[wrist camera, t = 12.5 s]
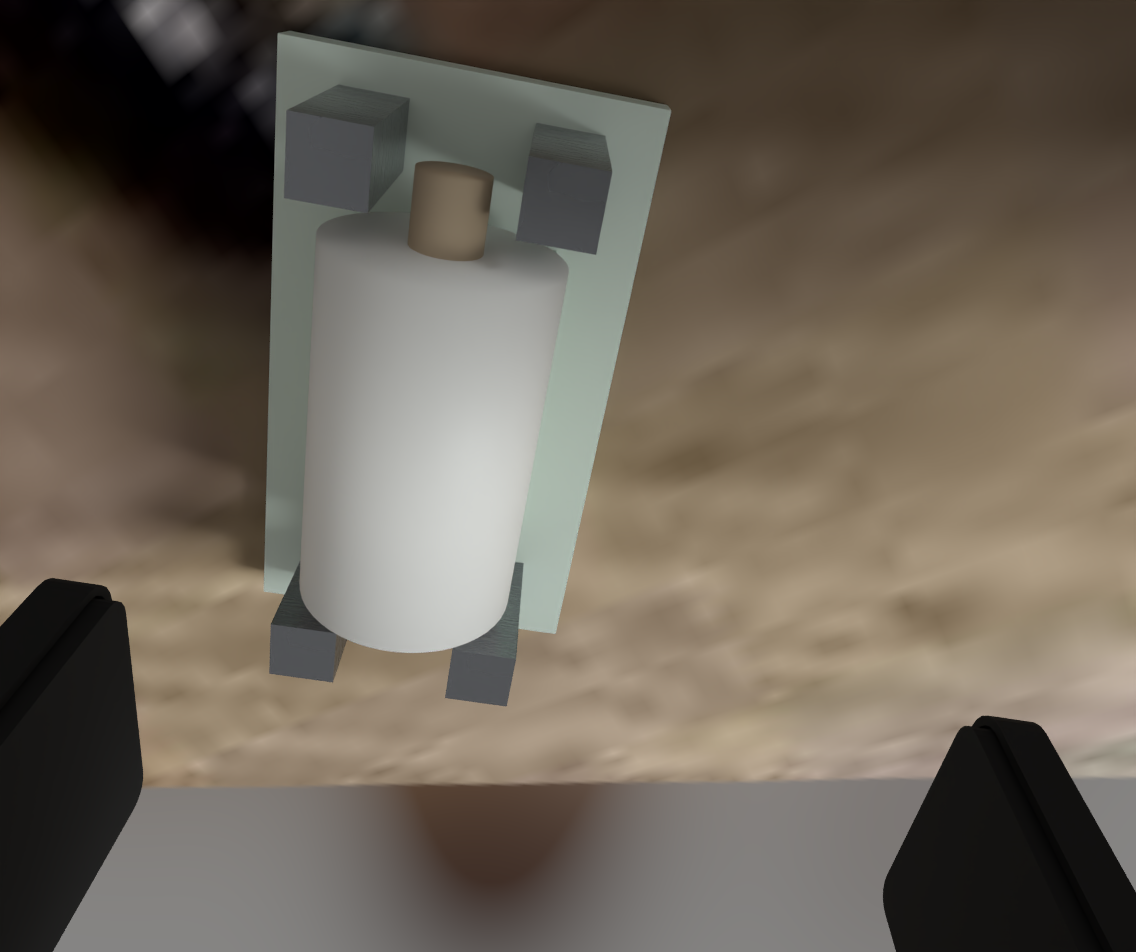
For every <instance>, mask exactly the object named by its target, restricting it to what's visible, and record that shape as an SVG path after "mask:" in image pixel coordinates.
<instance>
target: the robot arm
mask: <svg viewBox="0 0 1136 952" xmlns="http://www.w3.org/2000/svg"><path fill="white" fill-rule="evenodd" d="M142 782H143V767H142V757H141V748H140V739H139V729H138V720H137V711H136V702H135V692H134V683H133V674H132V665H131V655H130V646H129V637H128V628H127V618H126V611H125V607H124V605H123V604H122V603H121V602H118V601H112V598H111V594H110V592H109V590H108V589H107V587H105V586H102V585H96V584H89V583H82V582H75V581H68V580H62V579H55V578H50V579H47V580H45V581H43V582H42V583H41V584H40V585H38V586H37V588H36V589H35V590H34V591H33V592H32V593H31V594H30V595H29V596H28V597H27V598H26V599H25V600H24V602H23V603H22V604H21V605H20V606H19V607H18V608H17V609H16V610H15V611H14V612H13V613H12V615H11V616H10V617H9V618H8V619H7V620H6V621H5V622H4V623H3V624H2V625H1V626H0V952H53V950H54V948H55V947H56V945H57V943H58V941H59V940H60V938H61V936H62V934H63V933H64V931H65V929H66V927H67V925H68V924H69V922H70V920H71V918H72V917H73V915H74V913H75V911H76V910H77V908H78V906H79V904H80V903H81V901H82V899H83V897H84V896H85V894H86V892H87V890H88V889H89V887H90V885H91V883H92V882H93V880H94V878H95V876H96V875H97V873H98V871H99V869H100V867H101V866H102V864H103V862H104V860H105V859H106V857H107V855H108V853H109V852H110V850H111V848H112V846H113V845H114V843H115V841H116V839H117V837H118V836H119V834H120V832H121V831H122V829H123V827H124V825H125V824H126V822H127V820H128V818H129V816H130V815H131V813H132V811H133V809H134V807H135V805H136V803H137V801H138V798H139V795H140V792H141V788H142ZM883 903H884V910H885V915H886V918H887V922H888V925H889V928H890V932H891V935H892V939H893V943H894V946H895V949H896V952H1136V892H1135V890H1134V888H1133V886H1132V885H1131V883H1130V881H1129V879H1128V878H1127V876H1126V874H1125V872H1124V870H1123V869H1122V867H1121V865H1120V863H1119V862H1118V860H1117V858H1116V856H1115V855H1114V853H1113V851H1112V849H1111V847H1110V846H1109V844H1108V842H1107V840H1106V839H1105V837H1104V835H1103V833H1102V832H1101V830H1100V828H1099V826H1098V825H1097V823H1096V821H1095V819H1094V817H1093V816H1092V814H1091V812H1090V810H1089V808H1088V807H1087V805H1086V803H1085V802H1084V800H1083V798H1082V796H1081V794H1080V793H1079V791H1078V789H1077V787H1076V785H1075V784H1074V782H1073V780H1072V778H1071V777H1070V775H1069V773H1068V771H1067V769H1066V768H1065V766H1064V764H1063V762H1062V761H1061V759H1060V757H1059V755H1058V753H1057V752H1056V750H1055V748H1054V746H1053V745H1052V743H1051V741H1050V739H1049V737H1048V736H1047V734H1046V733H1045V731H1044V730H1043V729H1042V727H1041V726H1039V725H1038V724H1036V723H1034V722H1027V721H1020V720H1014V719H1007V718H1000V717H993V716H981V717H980V718H978V719H977V720H976V721H975V723H974V724H973V725H972V727H971V726H964V727H962V728H961V729H960V730H959V732H958V733H957V735H956V737H955V739H954V741H953V743H952V745H951V747H950V749H949V751H948V753H947V755H946V757H945V759H944V761H943V763H942V765H941V767H940V769H939V771H938V773H937V775H936V777H935V779H934V781H933V783H932V785H931V787H930V789H929V791H928V793H927V795H926V797H925V799H924V801H923V803H922V805H921V807H920V810H919V811H918V814H917V816H916V818H915V820H914V822H913V824H912V826H911V828H910V830H909V832H908V834H907V836H906V838H905V840H904V842H903V844H902V846H901V848H900V850H899V852H898V854H897V856H896V858H895V860H894V862H893V864H892V866H891V868H890V870H889V872H888V874H887V877H886V879H885V883H884V889H883Z"/></svg>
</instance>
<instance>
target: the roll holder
mask: <svg viewBox="0 0 1136 952" xmlns="http://www.w3.org/2000/svg"><path fill="white" fill-rule="evenodd" d="M670 115H671V109H670V108H669V106H668V105H665V104H660V103H655V102H649V101H644V100H639V99H634V98H629V97H624V96H619V95H614V94H609V93H604V92H599V91H594V90H589V89H583V88H578V87H573V86H568V85H563V84H558V83H553V82H548V81H543V80H538V79H533V78H528V77H523V76H517V75H512V74H507V73H502V72H497V71H492V70H487V69H482V68H477V67H472V66H467V65H462V64H457V63H451V62H446V61H441V60H436V59H431V58H426V57H421V56H416V55H411V54H406V53H401V52H396V51H391V50H385V49H380V48H375V47H370V46H365V45H360V44H355V43H350V42H345V41H340V40H335V39H330V38H325V37H319V36H314V35H309V34H304V33H299V32H294V31H286V32H281V33H278V42H277V82H276V122H275V162H274V202H273V242H272V282H271V322H270V362H269V402H268V442H267V482H266V522H265V562H264V591H265V592H272V593H278V594H285V595H284V597H283V599H282V601H281V603H280V605H279V608H278V610H277V612H276V614H275V616H274V619H273V621H272V623H271V638H270V671H269V674H276V675H284V676H291V677H298V678H305V679H313V680H320V681H327V682H333V680H334V677H335V674H336V671H337V668H338V665H339V662H340V659H341V656H342V653H343V650H344V647H345V644H346V641H347V639H345V638H343V637H341V636H339V635H337V634H335V633H334V632H332V631H330V630H329V629H327V628H326V627H325V626H323V625H322V624H321V623H320V622H318V621H317V620H316V619H315V618H314V617H313V616H312V614H311V613H310V612H309V610H308V609H307V608H306V606H305V604H304V602H303V600H302V597H301V593H300V584H299V580H300V559H301V538H302V517H303V496H304V475H305V455H306V434H307V413H308V392H309V371H310V350H311V330H312V309H313V288H314V267H315V246H316V232H317V229H318V228H319V227H320V226H321V224H323V223H325V222H326V221H328V220H331V219H333V218H336V217H340V216H344V215H349V214H355V213H368V212H409V213H410V212H411V202H412V192H413V181H414V171H415V164H416V163H418V162H422V161H442V162H450V163H457V164H462V165H467V166H471V167H474V168H478V169H481V170H483V171H486V172H488V173H490V174H491V175H493V176H494V183H493V190H492V197H491V204H490V212H489V219H488V225H490V226H494V227H497V228H501V229H504V230H507V231H510V232H513V233H516V234H517V235H516V240H517V241H522V242H528V243H533V244H539V245H544V246H546V247H548V248H550V249H551V250H553V251H554V252H556V253H557V254H558V255H559V256H560V257H562V258H563V259H564V261H565V262H566V263H567V265H568V268H569V274H568V280H567V285H566V290H565V296H564V301H563V307H562V312H561V317H560V323H559V328H558V333H557V339H556V344H555V350H554V355H553V360H552V366H551V371H550V377H549V382H548V387H547V393H546V398H545V404H544V409H543V414H542V420H541V425H540V431H539V436H538V441H537V447H536V452H535V457H534V463H533V468H532V474H531V479H530V484H529V490H528V495H527V501H526V506H525V511H524V517H523V522H522V528H521V533H520V538H519V544H518V549H517V555H516V560H515V565H514V571H513V576H512V581H511V587H510V592H509V598H508V603H507V606H506V609H505V612H504V613H503V615H502V617H501V619H500V620H499V621H498V622H497V624H496V625H495V626H494V627H492V628H491V629H490V630H489V631H488V632H487V633H485V634H483V635H482V636H480V637H479V638H477V639H475V640H473V641H471V642H468V643H466V644H463V645H460V646H457V647H454V648H453V650H452V656H451V663H450V669H449V676H448V682H447V689H446V695H445V698H450V699H457V700H464V701H471V702H478V703H486V704H493V705H500V706H507V701H508V696H509V691H510V686H511V681H512V676H513V671H514V666H515V661H516V652H517V639H518V629H525V630H532V631H539V632H546V633H552V634H556V629H557V625H558V620H559V616H560V611H561V607H562V602H563V598H564V593H565V589H566V584H567V580H568V575H569V570H570V566H571V561H572V557H573V552H574V548H575V543H576V539H577V534H578V530H579V525H580V521H581V516H582V512H583V507H584V503H585V498H586V494H587V489H588V485H589V480H590V476H591V471H592V467H593V462H594V458H595V453H596V449H597V444H598V440H599V435H600V431H601V426H602V422H603V417H604V412H605V408H606V403H607V399H608V394H609V390H610V385H611V381H612V376H613V372H614V367H615V363H616V358H617V354H618V349H619V345H620V340H621V336H622V331H623V327H624V322H625V318H626V313H627V309H628V304H629V300H630V295H631V291H632V286H633V282H634V277H635V273H636V268H637V264H638V259H639V254H640V250H641V245H642V241H643V236H644V232H645V227H646V223H647V218H648V214H649V209H650V205H651V200H652V196H653V191H654V187H655V182H656V178H657V173H658V169H659V164H660V160H661V155H662V151H663V146H664V142H665V137H666V133H667V128H668V124H669V119H670Z"/></svg>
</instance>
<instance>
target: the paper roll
mask: <svg viewBox="0 0 1136 952" xmlns="http://www.w3.org/2000/svg"><path fill="white" fill-rule="evenodd" d="M493 183H494V176H493V175H491V174H490V173H488V172H486V171H483V170H481V169H478V168H474V167H471V166H467V165H462V164H457V163H450V162H442V161H422V162H418V163H416V164H415V171H414V181H413V192H412V202H411V212H410V213H409V212H368V213H355V214H349V215H344V216H340V217H336V218H333V219H331V220H328V221H326V222H325V223H323V224H321V226H320V227H319V228H318V229H317V232H316V246H315V267H314V288H313V309H312V330H311V350H310V371H309V392H308V413H307V434H306V455H305V475H304V496H303V517H302V538H301V559H300V580H299V584H300V593H301V597H302V600H303V602H304V604H305V606H306V608H307V609H308V610H309V612H310V613H311V614H312V616H313V617H314V618H315V619H316V620H317V621H318V622H320V623H321V624H322V625H323V626H325V627H326V628H327V629H329V630H330V631H332V632H334V633H335V634H337V635H339V636H341V637H343V638H345V639H347V640H350V641H352V642H354V643H357V644H360V645H363V646H367V647H370V648H375V649H379V650H385V651H391V652H397V653H422V652H433V651H441V650H445V649H450V648H454V647H457V646H460V645H463V644H466V643H468V642H471V641H473V640H475V639H477V638H479V637H480V636H482V635H483V634H485V633H487V632H488V631H489V630H490V629H491V628H492V627H494V626H495V625H496V624H497V622H498V621H499V620H500V619H501V617H502V615H503V613H504V612H505V609H506V606H507V603H508V598H509V592H510V587H511V581H512V576H513V571H514V565H515V560H516V555H517V549H518V544H519V538H520V533H521V528H522V522H523V517H524V511H525V506H526V501H527V495H528V490H529V484H530V479H531V474H532V468H533V463H534V457H535V452H536V447H537V441H538V436H539V431H540V425H541V420H542V414H543V409H544V404H545V398H546V393H547V387H548V382H549V377H550V371H551V366H552V360H553V355H554V350H555V344H556V339H557V333H558V328H559V323H560V317H561V312H562V307H563V301H564V296H565V290H566V285H567V280H568V274H569V268H568V265H567V263H566V262H565V261H564V259H563V258H562V257H560V256H559V255H558V254H557V253H556V252H554V251H553V250H551V249H550V248H548V247H546V246H544V245H539V244H533V243H528V242H522V241H517V240H516V235H517V234H516V233H513V232H510V231H507V230H504V229H501V228H497V227H494V226H490V225H488V219H489V212H490V204H491V197H492V190H493Z"/></svg>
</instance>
